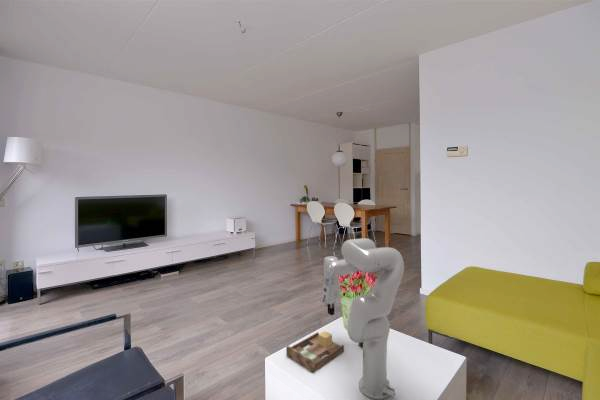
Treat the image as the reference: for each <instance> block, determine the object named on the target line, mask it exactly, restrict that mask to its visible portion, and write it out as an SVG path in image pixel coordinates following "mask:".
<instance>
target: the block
mask: <svg viewBox="0 0 600 400" xmlns="http://www.w3.org/2000/svg"><path fill="white" fill-rule="evenodd" d="M332 342H333V334H332V333H330V332H327V330H324V331H322V332H321V333H319V334H318V344H320V345H322V346H323V347H325V348H326V347H328V346H329V345H331V344H332Z"/></svg>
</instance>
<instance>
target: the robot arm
mask: <svg viewBox="0 0 600 400" xmlns="http://www.w3.org/2000/svg"><path fill="white" fill-rule="evenodd" d="M340 250H341V255H342V256H343V259H339V258H338V257H336V256H335V255H334V256H332V255H330V256H325V257H324V259H323V285H322V297H321V298H322V302H323V306H324V307H327V314H328V315H329V316H334V315H335V307H336V303H337V302H339V301H340V300H341V286H340V282H339V277H340V276H345V275H346V276H347V275H351V274H355V273H356V272H357V271H361V272H363V273H373V272H379V271H382V272H381V273H380V274H379V275H378V276H377V278H376V280H375V281H374V284H373V288H372V290H371V291H370V292H368V293H364V294H359V295H357V296H356V297H354V299H353V300H352V302H351V305H350V309H349V310H350V311H349V314H348V319H347V322H346V323H347V324H346V330H347V331H346V333H347V335H348V337H349V339H350V340H351V341H352V342H354V343H358V344H359V343H361V342H364V343H363V347H362V377H361V378H360V380H359V381H358V382H359V383H358V387H359V390H360V392H361V393H362V394H363V395H364V396H366V397H368V398H370V399H372V400H373V399H374V400H385V399H387V398H388V397H389V396H390V397H392V398H393V399H394V398H395V396H396V392H395V391H396V388H395V387H393V386H391V385H390V380H389V379H388V378H387V376H388V374H387V371H388V370H387V367H388V365H387V361H388V358H387V357H388V339H389V335H390V328H391V326H390V324H391V323H390V321H389V319H388V317H387V316H388V315H390V314H391V311H392V309H393V305H394V301H395V299H396V295H397V292H398V289H399V286H400V284H401V281H402V278H403V276H404V274H405V273H404V272H405V262H404V259H403V256H402V254H401V253H400V252H399V250H397V249H396V248H394V247H388V246H387V247H384V246H383V247H377V246H376V243H375V242H374V241H373V240H372V239H370V238H365V237H362V238H352V239H351V238H350V239H346V241H344V242H343V244H342V245H341V249H340Z"/></svg>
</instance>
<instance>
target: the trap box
mask: <svg viewBox="0 0 600 400" xmlns="http://www.w3.org/2000/svg"><path fill="white" fill-rule="evenodd" d="M318 334H320V333H319V331H318V332H316V333H314V334H312V335H311V336H309V337H307V338H305V339H303V340H301V341H299V342H297V343H296V344H294V345H292V346H290V345H286V350H285V352H286V353H285V354H286V356H285V357H288V358H289V359H291V361H294V362H296V363H297V364H298V365H300V366H301V367H303V368H305V369H306V370H308V371H309V372H311V373H312V374H314V373H315V372H317V371H318V370H320V369H321V368H322V367H324V366H326V365H327V364H329V363H330V362H331V361H333V360H334V359H335V358H337V357H339V356H340V355H341V354H343V353H344V352H345V345H344V344H342V345H339V344H337V343H336V342H333V341H332V344H331V345H329V346H328V347H326V348H325V347H323V346H322V345H320V344H318ZM308 345H309V347H307V346H308ZM305 347H307V348H305ZM325 355H326V356H325Z"/></svg>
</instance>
